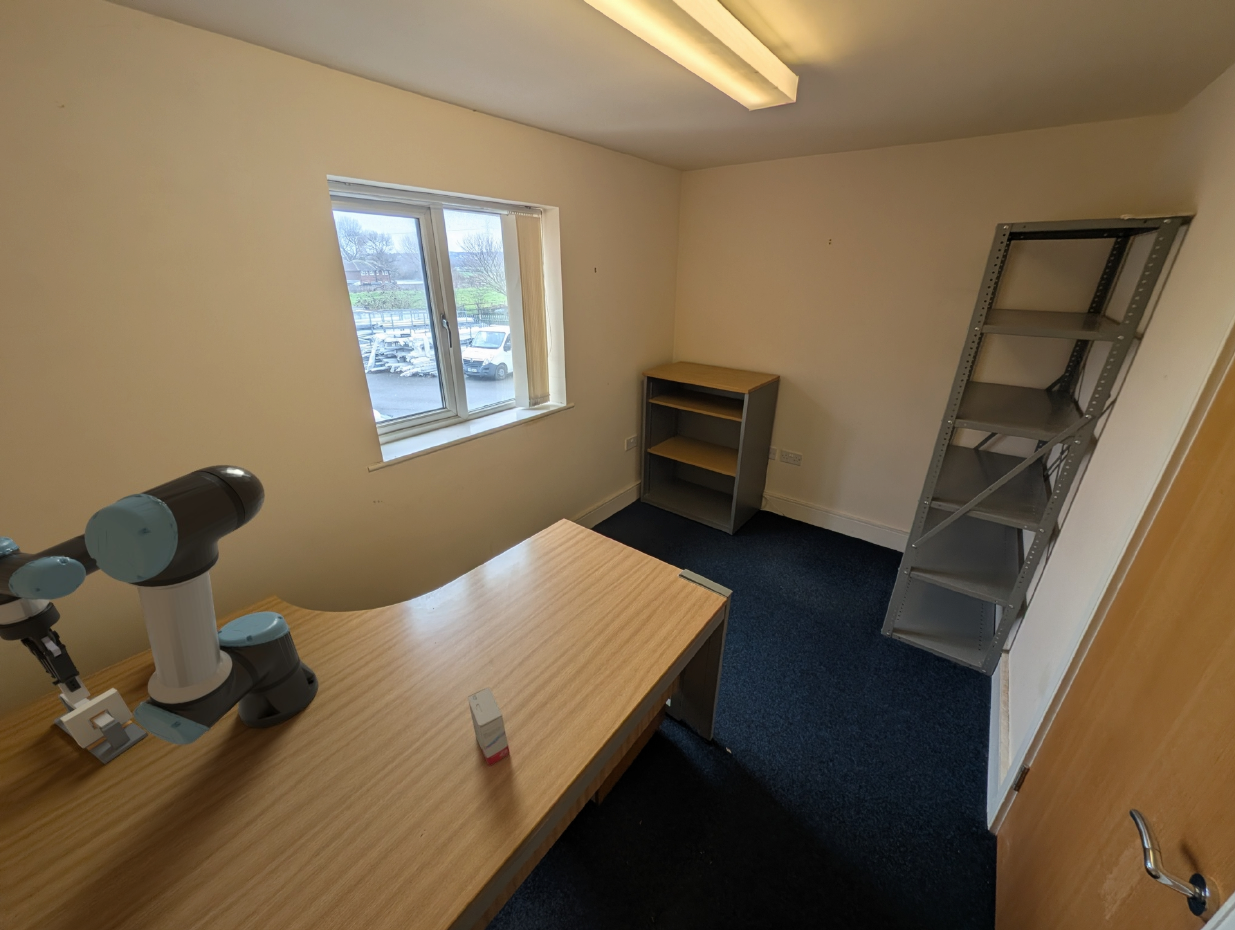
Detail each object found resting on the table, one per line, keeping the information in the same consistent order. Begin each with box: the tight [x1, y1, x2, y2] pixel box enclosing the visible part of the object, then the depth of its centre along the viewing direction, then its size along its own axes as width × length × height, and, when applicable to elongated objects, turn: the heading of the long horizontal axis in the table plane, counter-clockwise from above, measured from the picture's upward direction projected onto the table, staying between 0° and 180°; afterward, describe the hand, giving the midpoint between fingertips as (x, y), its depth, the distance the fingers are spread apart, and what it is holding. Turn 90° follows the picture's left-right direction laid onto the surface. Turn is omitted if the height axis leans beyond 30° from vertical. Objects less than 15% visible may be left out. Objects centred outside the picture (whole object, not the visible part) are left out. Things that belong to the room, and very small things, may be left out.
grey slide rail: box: [52, 692, 149, 765], centre depth 99 cm, size 23×7×7 cm, turn 66°
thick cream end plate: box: [60, 687, 134, 749], centre depth 96 cm, size 2×8×8 cm, turn 156°
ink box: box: [467, 686, 510, 767], centre depth 94 cm, size 9×5×12 cm, turn 33°
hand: (80, 698), depth 97 cm, fingers closed
